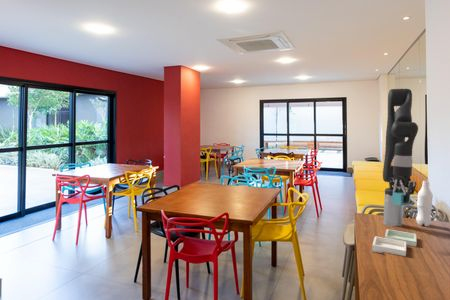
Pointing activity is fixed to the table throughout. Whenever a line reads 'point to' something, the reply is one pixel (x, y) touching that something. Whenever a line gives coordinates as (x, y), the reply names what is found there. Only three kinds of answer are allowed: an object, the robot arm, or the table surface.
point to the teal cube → (399, 199)
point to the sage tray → (402, 236)
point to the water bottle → (424, 205)
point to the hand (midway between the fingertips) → (400, 201)
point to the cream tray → (389, 246)
